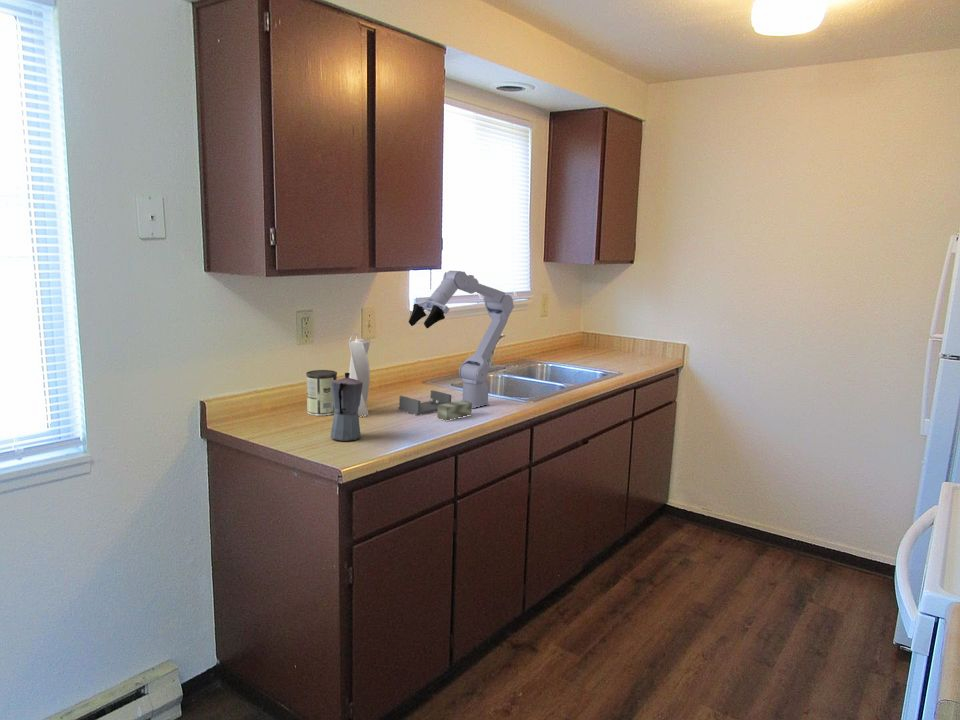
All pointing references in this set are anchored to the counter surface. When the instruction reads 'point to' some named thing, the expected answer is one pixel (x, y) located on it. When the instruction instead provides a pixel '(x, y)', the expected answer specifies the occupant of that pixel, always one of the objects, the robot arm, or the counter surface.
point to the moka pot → (346, 408)
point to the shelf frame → (425, 407)
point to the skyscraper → (360, 369)
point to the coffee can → (320, 392)
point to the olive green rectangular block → (454, 410)
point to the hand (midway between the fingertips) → (417, 325)
